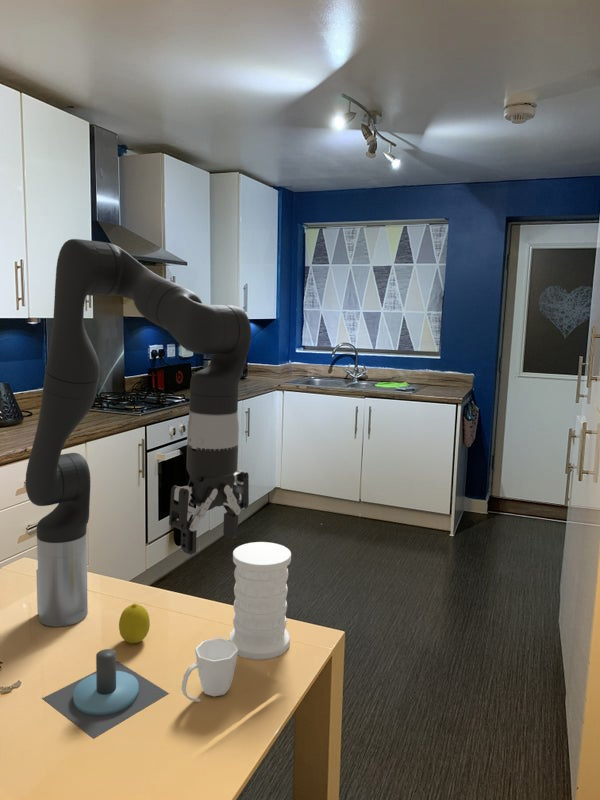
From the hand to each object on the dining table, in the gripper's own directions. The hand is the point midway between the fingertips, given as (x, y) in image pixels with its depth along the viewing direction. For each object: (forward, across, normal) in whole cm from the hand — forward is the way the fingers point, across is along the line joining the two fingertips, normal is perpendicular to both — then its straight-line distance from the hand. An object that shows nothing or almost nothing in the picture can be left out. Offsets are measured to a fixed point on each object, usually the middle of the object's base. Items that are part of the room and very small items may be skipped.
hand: (210, 544), depth 94 cm
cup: (+28, -2, -1) cm, 28 cm away
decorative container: (+28, -20, -6) cm, 35 cm away
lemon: (+28, -4, -23) cm, 37 cm away
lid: (+27, +9, -13) cm, 31 cm away
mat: (+28, +9, -13) cm, 32 cm away
